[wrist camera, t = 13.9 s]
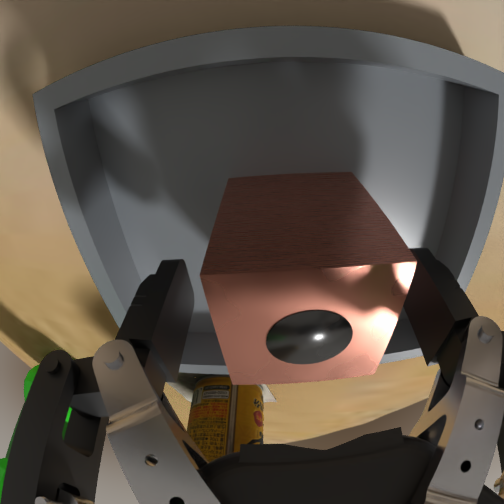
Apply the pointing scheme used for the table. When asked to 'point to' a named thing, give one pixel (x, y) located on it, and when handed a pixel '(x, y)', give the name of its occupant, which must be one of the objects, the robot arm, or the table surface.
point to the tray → (269, 149)
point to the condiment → (222, 412)
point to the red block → (303, 278)
